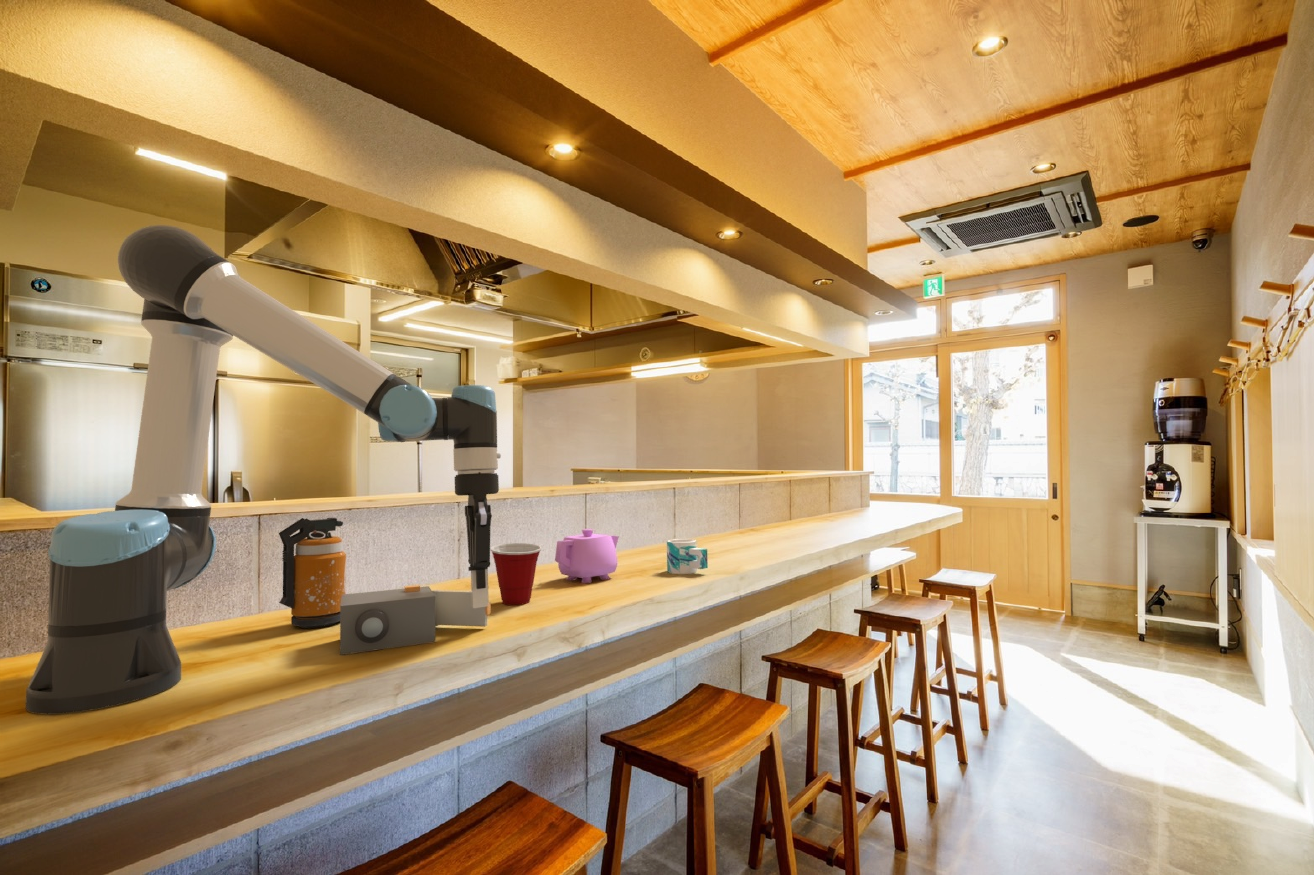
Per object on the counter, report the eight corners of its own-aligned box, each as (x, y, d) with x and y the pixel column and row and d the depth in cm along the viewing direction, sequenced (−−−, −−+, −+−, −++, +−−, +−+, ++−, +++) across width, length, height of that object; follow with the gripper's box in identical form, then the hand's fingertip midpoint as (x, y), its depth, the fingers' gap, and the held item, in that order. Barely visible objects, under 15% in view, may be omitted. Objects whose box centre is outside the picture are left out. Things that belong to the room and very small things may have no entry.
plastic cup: (504, 610, 122) (504, 550, 123) (482, 602, 131) (481, 546, 131) (552, 602, 129) (551, 545, 130) (527, 595, 138) (527, 541, 138)
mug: (682, 568, 171) (682, 537, 171) (714, 572, 162) (714, 541, 162) (661, 571, 165) (660, 540, 165) (693, 577, 156) (692, 544, 157)
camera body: (339, 658, 93) (340, 603, 94) (341, 639, 104) (341, 589, 104) (437, 644, 99) (437, 593, 100) (429, 628, 110) (429, 581, 110)
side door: (486, 628, 108) (486, 592, 108) (430, 626, 110) (430, 591, 110) (490, 625, 110) (490, 591, 110) (434, 624, 112) (434, 589, 112)
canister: (353, 622, 115) (353, 516, 116) (287, 635, 107) (288, 520, 108) (335, 615, 121) (336, 514, 122) (271, 626, 113) (273, 518, 114)
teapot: (573, 587, 145) (572, 534, 146) (542, 581, 154) (542, 531, 154) (634, 576, 159) (633, 527, 160) (602, 571, 168) (602, 524, 169)
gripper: (505, 470, 105) (509, 610, 103) (491, 472, 116) (495, 597, 115) (459, 472, 101) (463, 616, 100) (450, 474, 113) (453, 603, 112)
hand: (480, 606), depth 107 cm, fingers closed
